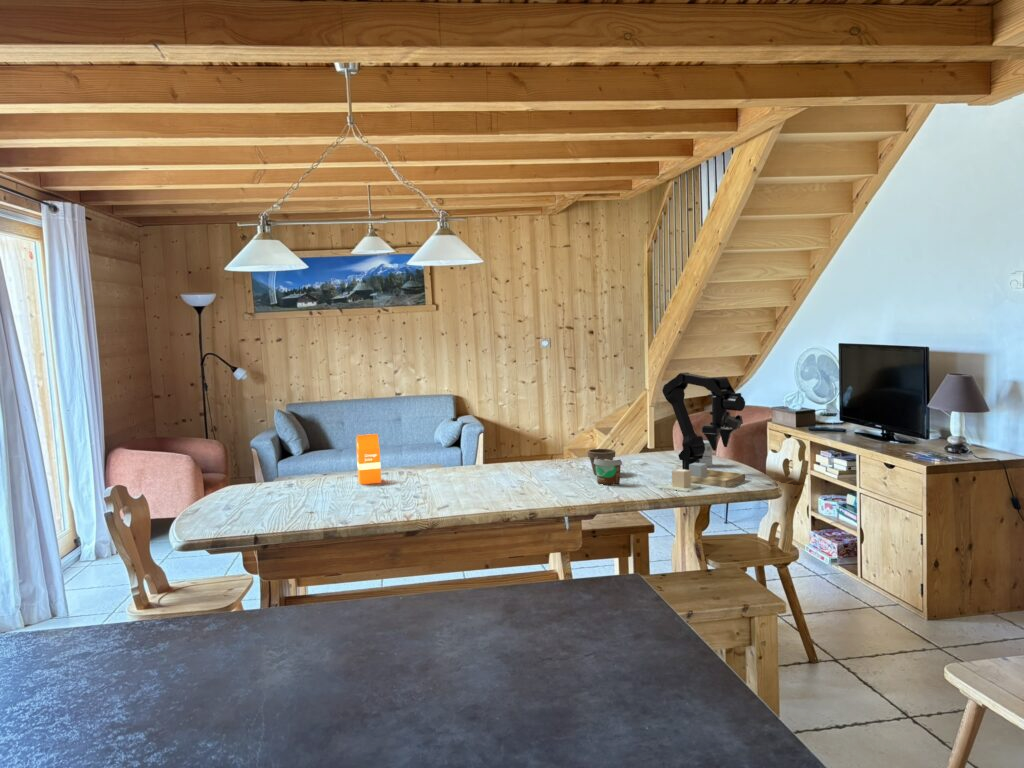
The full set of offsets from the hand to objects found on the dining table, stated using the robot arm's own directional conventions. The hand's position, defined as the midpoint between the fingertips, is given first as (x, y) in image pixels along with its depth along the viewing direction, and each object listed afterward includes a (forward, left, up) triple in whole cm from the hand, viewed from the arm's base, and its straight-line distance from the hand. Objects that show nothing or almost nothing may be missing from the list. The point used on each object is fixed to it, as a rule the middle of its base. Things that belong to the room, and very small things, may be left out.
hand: (720, 448), depth 297 cm
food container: (-34, -30, -13) cm, 47 cm away
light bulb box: (-21, +22, -13) cm, 33 cm away
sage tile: (-6, -20, -12) cm, 24 cm away
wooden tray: (-2, -5, -12) cm, 14 cm away
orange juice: (-120, -79, -13) cm, 144 cm away
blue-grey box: (-7, -5, -12) cm, 15 cm away
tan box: (-6, -20, -12) cm, 24 cm away
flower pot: (-46, -15, -13) cm, 50 cm away
